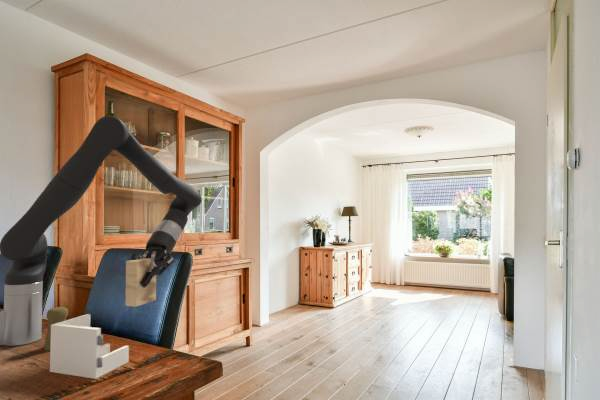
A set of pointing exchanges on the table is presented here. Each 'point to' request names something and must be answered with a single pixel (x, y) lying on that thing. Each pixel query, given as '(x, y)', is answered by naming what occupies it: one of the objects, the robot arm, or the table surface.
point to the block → (134, 290)
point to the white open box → (82, 349)
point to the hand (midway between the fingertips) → (136, 285)
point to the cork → (54, 322)
